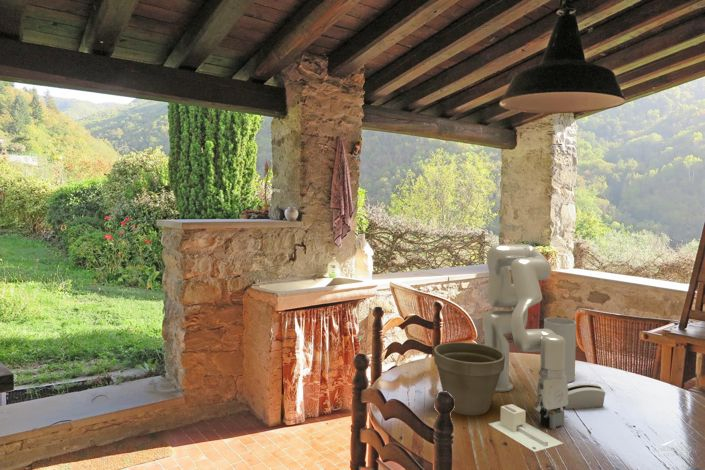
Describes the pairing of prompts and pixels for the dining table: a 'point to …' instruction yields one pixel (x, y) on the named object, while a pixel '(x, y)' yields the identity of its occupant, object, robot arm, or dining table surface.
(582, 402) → the off-white grooved curved block
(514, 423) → the cream module
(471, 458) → the dining table surface
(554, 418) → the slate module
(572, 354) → the cylinder vase
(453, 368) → the plant pot
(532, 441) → the panel
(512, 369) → the dining table surface
